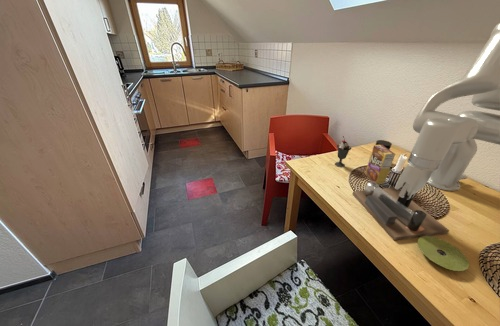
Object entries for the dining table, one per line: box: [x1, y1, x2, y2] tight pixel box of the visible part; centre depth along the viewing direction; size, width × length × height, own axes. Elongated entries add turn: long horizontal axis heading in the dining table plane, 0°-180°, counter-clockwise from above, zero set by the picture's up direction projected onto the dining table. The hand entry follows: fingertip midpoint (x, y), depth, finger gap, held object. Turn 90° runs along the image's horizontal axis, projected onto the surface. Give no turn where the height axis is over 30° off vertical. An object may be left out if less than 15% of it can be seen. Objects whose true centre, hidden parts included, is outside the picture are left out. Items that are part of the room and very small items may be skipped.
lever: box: [364, 180, 426, 231], centre depth 71 cm, size 21×4×6 cm, turn 16°
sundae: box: [334, 136, 352, 168], centre depth 99 cm, size 7×7×15 cm
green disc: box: [417, 236, 470, 272], centre depth 58 cm, size 11×11×2 cm
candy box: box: [364, 144, 396, 185], centre depth 88 cm, size 9×4×15 cm, turn 2°
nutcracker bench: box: [352, 186, 450, 241], centre depth 73 cm, size 19×23×5 cm
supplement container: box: [374, 139, 392, 151], centre depth 104 cm, size 7×7×10 cm
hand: (401, 205), depth 70 cm, fingers closed
